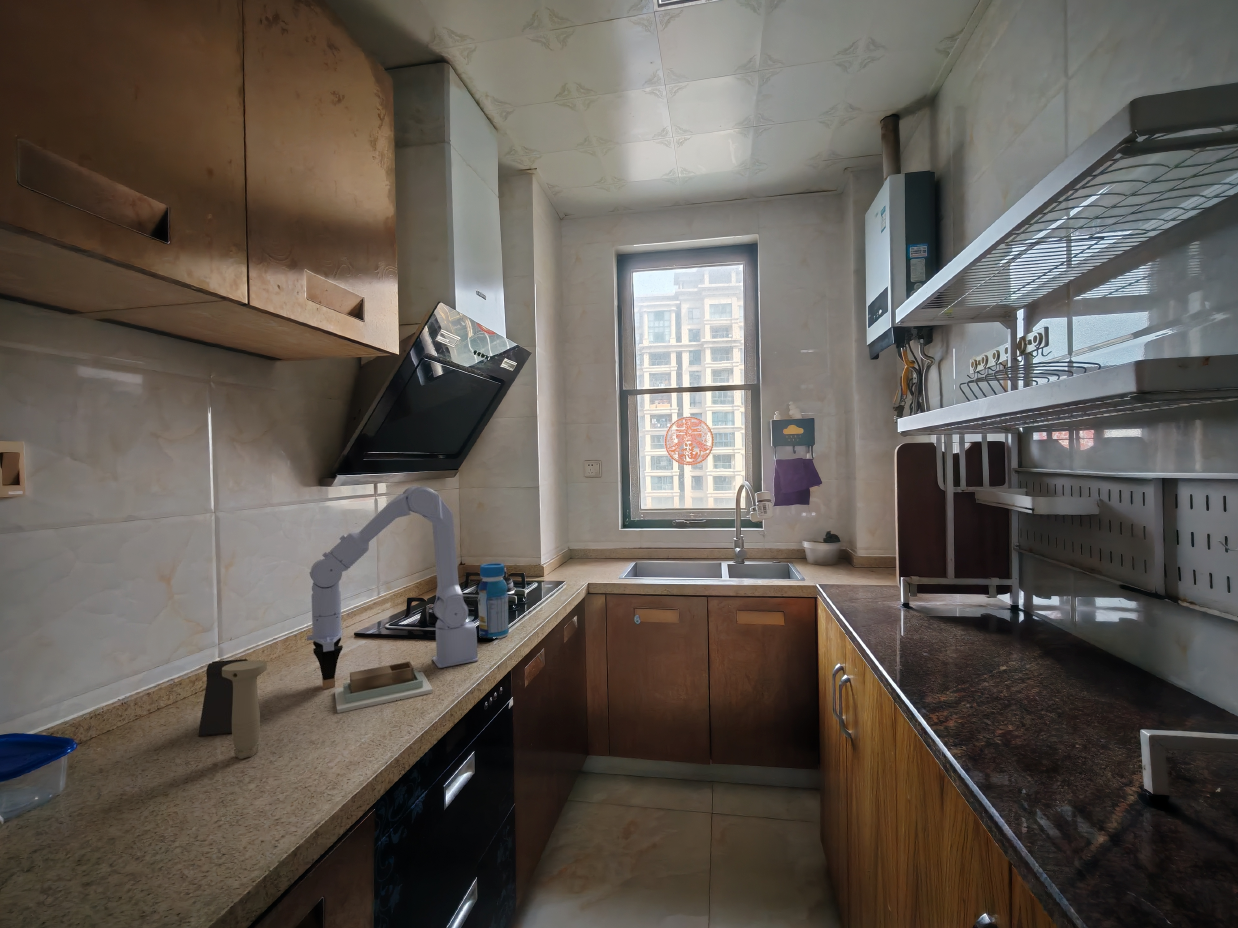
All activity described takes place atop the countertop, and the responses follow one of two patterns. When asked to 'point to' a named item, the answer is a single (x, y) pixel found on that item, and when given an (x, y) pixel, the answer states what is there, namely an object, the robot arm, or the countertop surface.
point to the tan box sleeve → (381, 677)
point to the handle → (245, 705)
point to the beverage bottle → (493, 601)
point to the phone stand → (217, 701)
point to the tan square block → (328, 683)
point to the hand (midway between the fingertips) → (328, 675)
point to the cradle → (381, 693)
